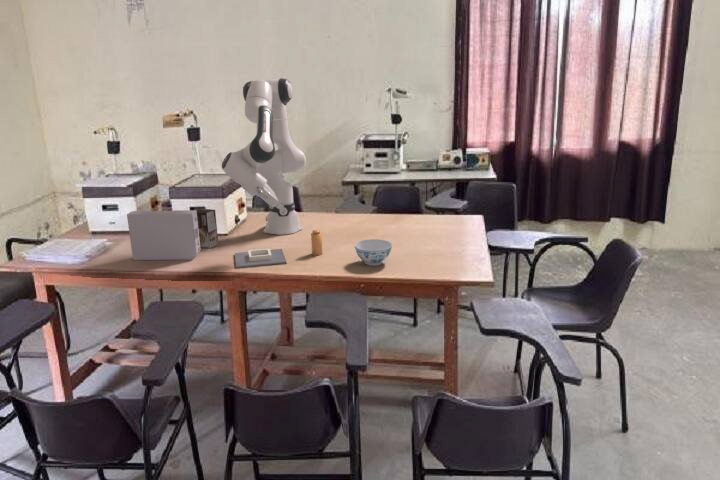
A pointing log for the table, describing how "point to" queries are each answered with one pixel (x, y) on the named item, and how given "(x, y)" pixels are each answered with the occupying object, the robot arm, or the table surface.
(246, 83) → the robot arm
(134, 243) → the game console
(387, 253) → the chinaware
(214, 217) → the coffee box
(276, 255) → the holder
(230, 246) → the table surface
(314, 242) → the orange cylinder
